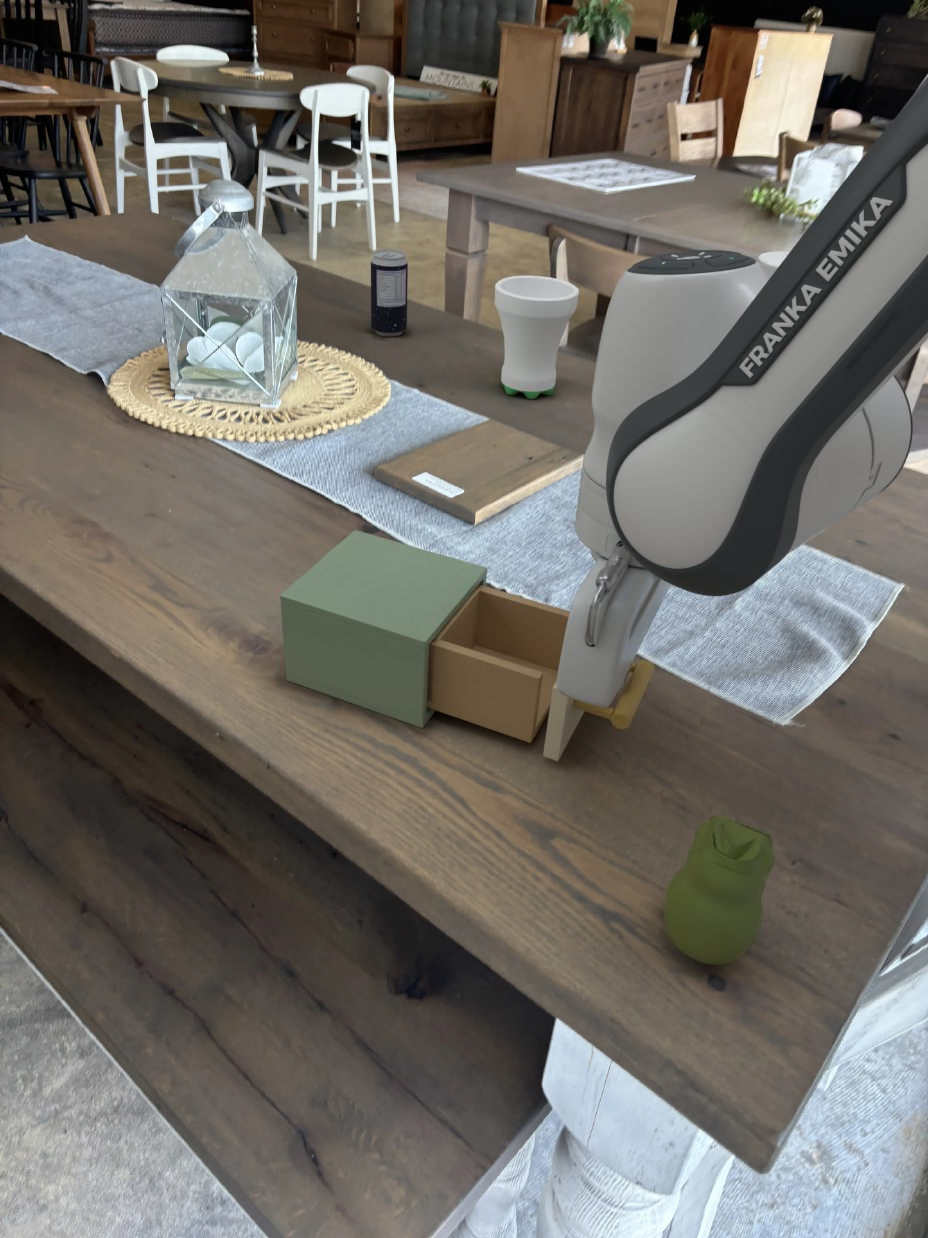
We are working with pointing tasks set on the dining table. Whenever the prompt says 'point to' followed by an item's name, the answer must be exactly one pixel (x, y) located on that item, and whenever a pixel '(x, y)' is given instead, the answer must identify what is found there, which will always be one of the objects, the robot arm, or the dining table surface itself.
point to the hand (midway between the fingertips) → (614, 676)
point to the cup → (533, 330)
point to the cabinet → (373, 622)
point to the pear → (719, 892)
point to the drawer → (514, 670)
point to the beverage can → (389, 292)
